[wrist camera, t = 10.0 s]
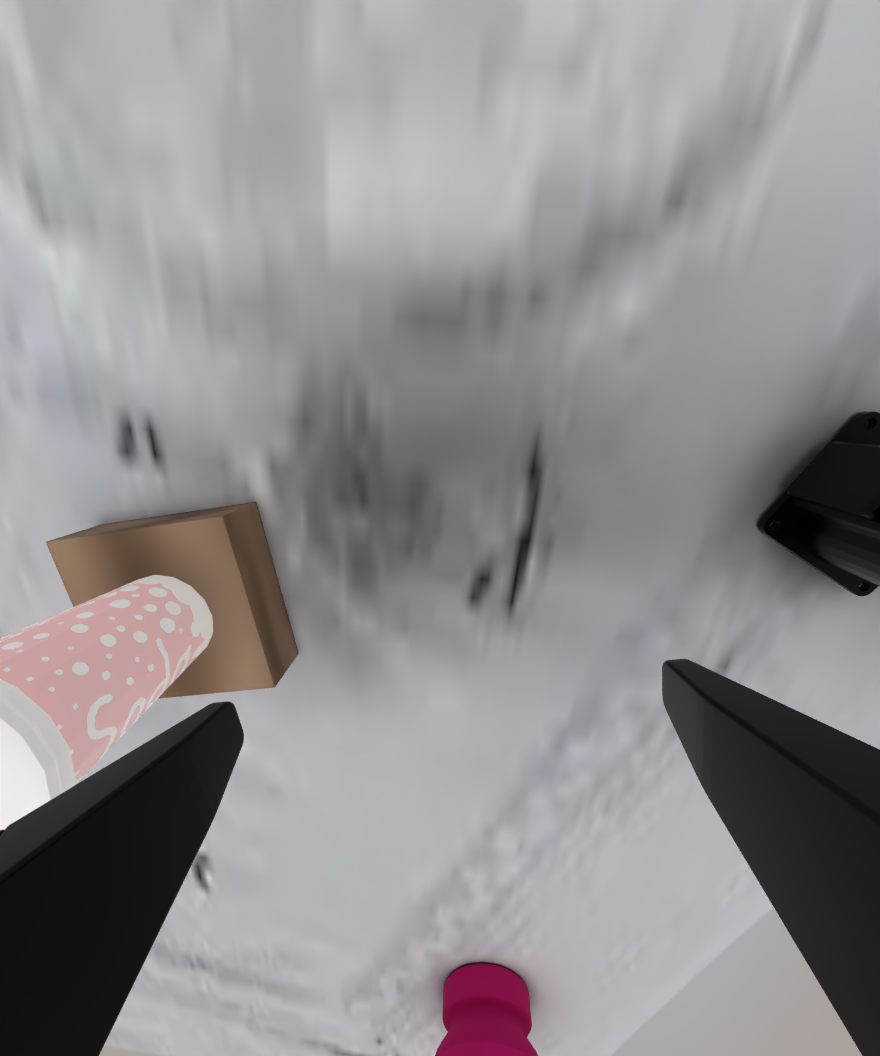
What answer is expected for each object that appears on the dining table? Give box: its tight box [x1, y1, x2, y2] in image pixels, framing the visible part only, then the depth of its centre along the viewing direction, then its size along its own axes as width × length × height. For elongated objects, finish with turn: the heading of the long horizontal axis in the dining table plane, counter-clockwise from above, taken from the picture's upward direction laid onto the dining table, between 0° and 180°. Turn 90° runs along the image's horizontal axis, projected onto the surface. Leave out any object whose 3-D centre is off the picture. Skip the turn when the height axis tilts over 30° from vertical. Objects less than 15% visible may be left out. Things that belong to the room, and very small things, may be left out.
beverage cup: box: [0, 575, 213, 830], centre depth 14 cm, size 6×6×14 cm
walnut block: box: [46, 502, 298, 698], centre depth 22 cm, size 9×9×3 cm
